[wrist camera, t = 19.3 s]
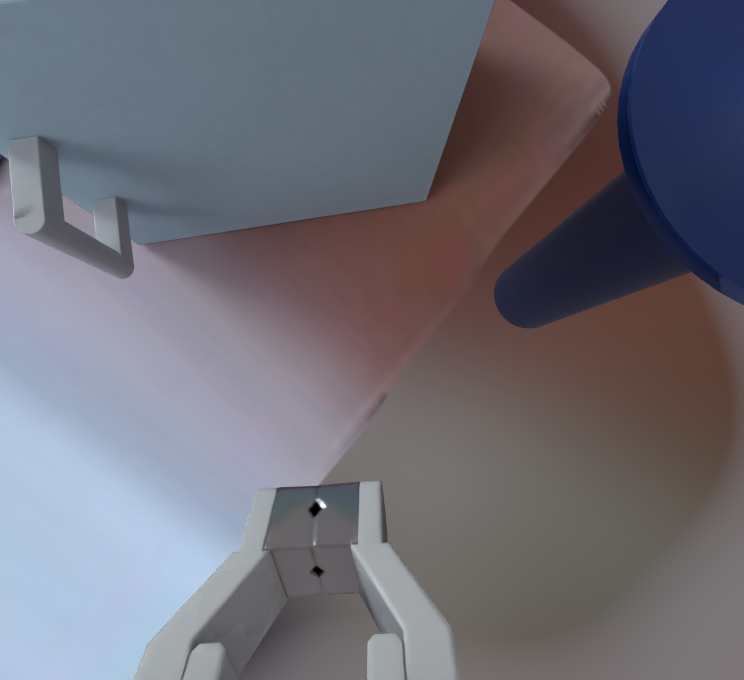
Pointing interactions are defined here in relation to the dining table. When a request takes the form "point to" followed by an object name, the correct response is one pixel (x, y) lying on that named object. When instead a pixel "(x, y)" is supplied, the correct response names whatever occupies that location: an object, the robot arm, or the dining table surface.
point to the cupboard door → (223, 112)
